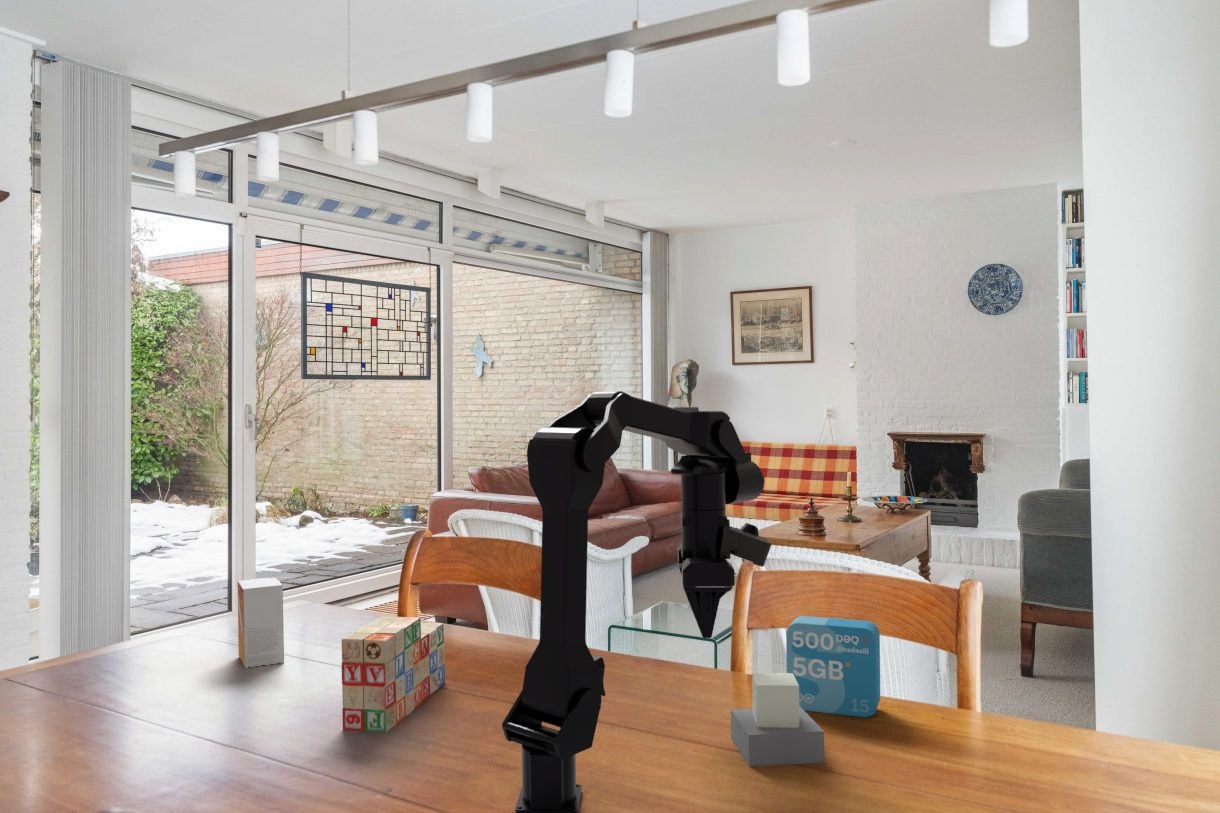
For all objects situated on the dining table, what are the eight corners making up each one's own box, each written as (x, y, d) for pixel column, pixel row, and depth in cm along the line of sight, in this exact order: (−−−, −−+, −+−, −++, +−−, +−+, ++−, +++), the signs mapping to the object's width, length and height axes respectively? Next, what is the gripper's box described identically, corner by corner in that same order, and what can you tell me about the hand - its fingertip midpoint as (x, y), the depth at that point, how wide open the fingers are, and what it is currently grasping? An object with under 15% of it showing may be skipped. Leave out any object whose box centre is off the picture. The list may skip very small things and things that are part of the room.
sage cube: (799, 727, 109) (799, 685, 109) (756, 727, 110) (756, 685, 110) (793, 713, 114) (792, 673, 114) (752, 713, 115) (752, 672, 115)
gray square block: (824, 765, 108) (823, 731, 108) (749, 769, 107) (748, 735, 107) (800, 737, 117) (800, 706, 117) (731, 741, 116) (730, 709, 116)
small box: (237, 657, 156) (236, 580, 156) (277, 651, 159) (276, 576, 159) (243, 669, 149) (242, 588, 149) (284, 663, 152) (283, 584, 152)
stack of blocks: (407, 681, 142) (406, 601, 142) (446, 683, 141) (445, 602, 140) (341, 731, 121) (340, 637, 121) (386, 733, 120) (385, 638, 119)
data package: (786, 709, 127) (785, 621, 127) (793, 699, 131) (792, 614, 131) (876, 719, 122) (876, 629, 122) (880, 708, 127) (879, 621, 126)
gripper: (776, 516, 110) (777, 648, 110) (757, 499, 128) (758, 612, 128) (682, 517, 110) (683, 648, 110) (676, 500, 129) (678, 612, 129)
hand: (704, 628), depth 119 cm, fingers open, 9 cm apart
